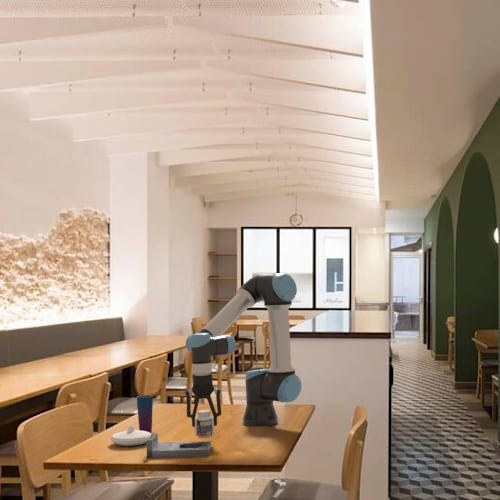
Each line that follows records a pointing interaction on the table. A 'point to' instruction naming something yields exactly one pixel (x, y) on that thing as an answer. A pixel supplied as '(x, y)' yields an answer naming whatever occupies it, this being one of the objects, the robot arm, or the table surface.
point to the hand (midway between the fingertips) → (205, 434)
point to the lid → (130, 437)
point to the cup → (145, 412)
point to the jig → (176, 448)
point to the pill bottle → (204, 424)
